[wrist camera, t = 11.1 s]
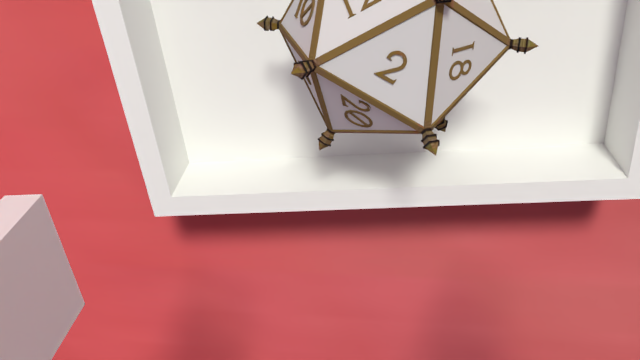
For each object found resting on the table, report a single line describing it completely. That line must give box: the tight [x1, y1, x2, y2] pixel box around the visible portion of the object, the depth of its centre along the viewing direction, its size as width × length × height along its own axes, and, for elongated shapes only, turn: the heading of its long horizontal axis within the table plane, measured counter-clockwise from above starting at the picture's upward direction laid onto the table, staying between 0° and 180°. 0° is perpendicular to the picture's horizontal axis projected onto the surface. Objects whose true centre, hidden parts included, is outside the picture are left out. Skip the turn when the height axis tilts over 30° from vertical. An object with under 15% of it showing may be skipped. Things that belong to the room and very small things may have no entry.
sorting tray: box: [92, 0, 640, 216], centre depth 23 cm, size 16×21×4 cm
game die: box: [257, 0, 538, 156], centre depth 21 cm, size 9×8×10 cm
